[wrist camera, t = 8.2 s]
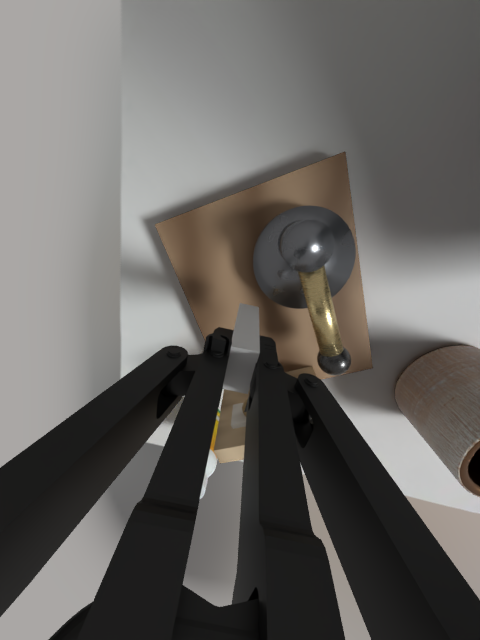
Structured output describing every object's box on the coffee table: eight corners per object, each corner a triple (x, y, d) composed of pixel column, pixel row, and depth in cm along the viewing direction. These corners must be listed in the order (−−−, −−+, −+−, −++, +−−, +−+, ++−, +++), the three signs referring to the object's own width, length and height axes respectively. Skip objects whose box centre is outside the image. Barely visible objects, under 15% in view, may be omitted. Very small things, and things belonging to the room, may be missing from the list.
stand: (336, 158, 19) (417, 94, 9) (364, 357, 26) (425, 432, 17) (163, 224, 21) (94, 224, 12) (231, 388, 28) (221, 466, 19)
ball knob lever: (240, 229, 19) (235, 231, 14) (335, 191, 18) (370, 177, 12) (283, 356, 24) (292, 393, 19) (362, 334, 22) (396, 368, 17)
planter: (373, 382, 27) (431, 458, 18) (464, 323, 24) (590, 382, 15) (421, 430, 30) (492, 518, 21) (510, 383, 26) (641, 465, 17)
